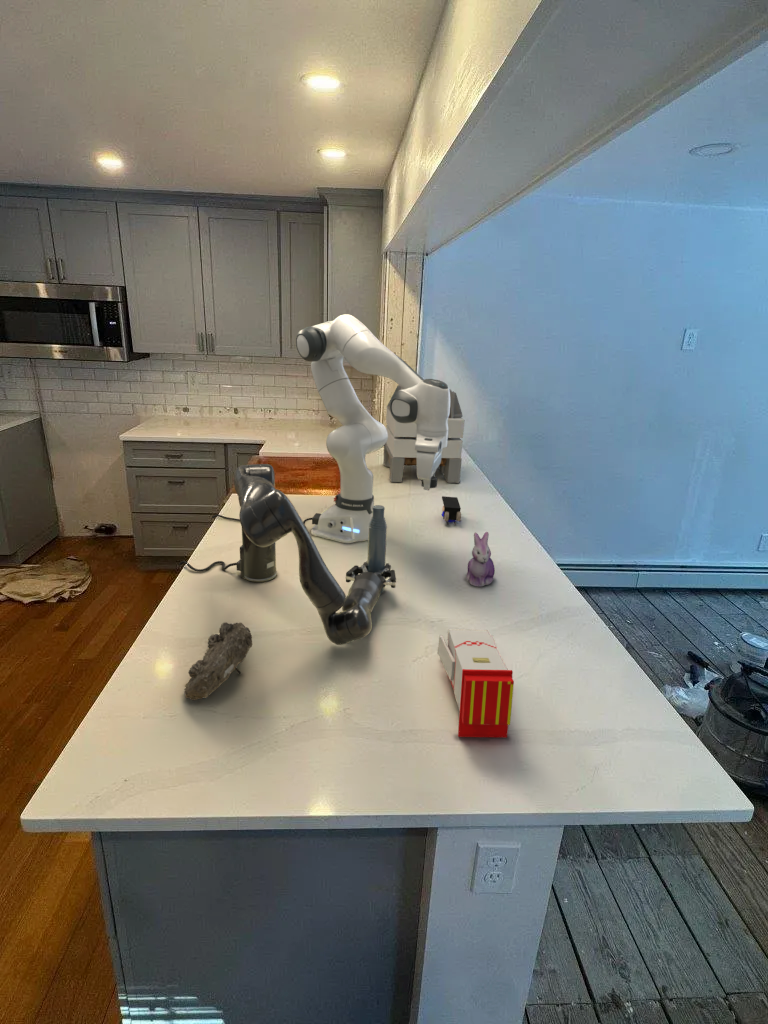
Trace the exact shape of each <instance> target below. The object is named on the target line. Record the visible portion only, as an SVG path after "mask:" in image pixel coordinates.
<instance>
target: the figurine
mask: <svg viewBox="0 0 768 1024" xmlns="http://www.w3.org/2000/svg"><path fill="white" fill-rule="evenodd" d="M489 534H490V533H489V531H485V532H484V533H483V535H482V537H480V536H479V534H478V532H474V533H473V542H474V543H473V545H474V546H473V547H472V551H471V555H472V558H471V559H469V560H468V563H467V568H466V569H467V571H466V580H467V581H468V583H469V584H470V585H471V586H475V587H484V586H489V585H491V583H492V582H493V580H494V576H495V572H496V571H495V570H496V568H495V564H494V561H493V560H492V558H491V556H492V551H491V547H490V546H489V543H488V541H489V536H490V535H489Z"/></svg>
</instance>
